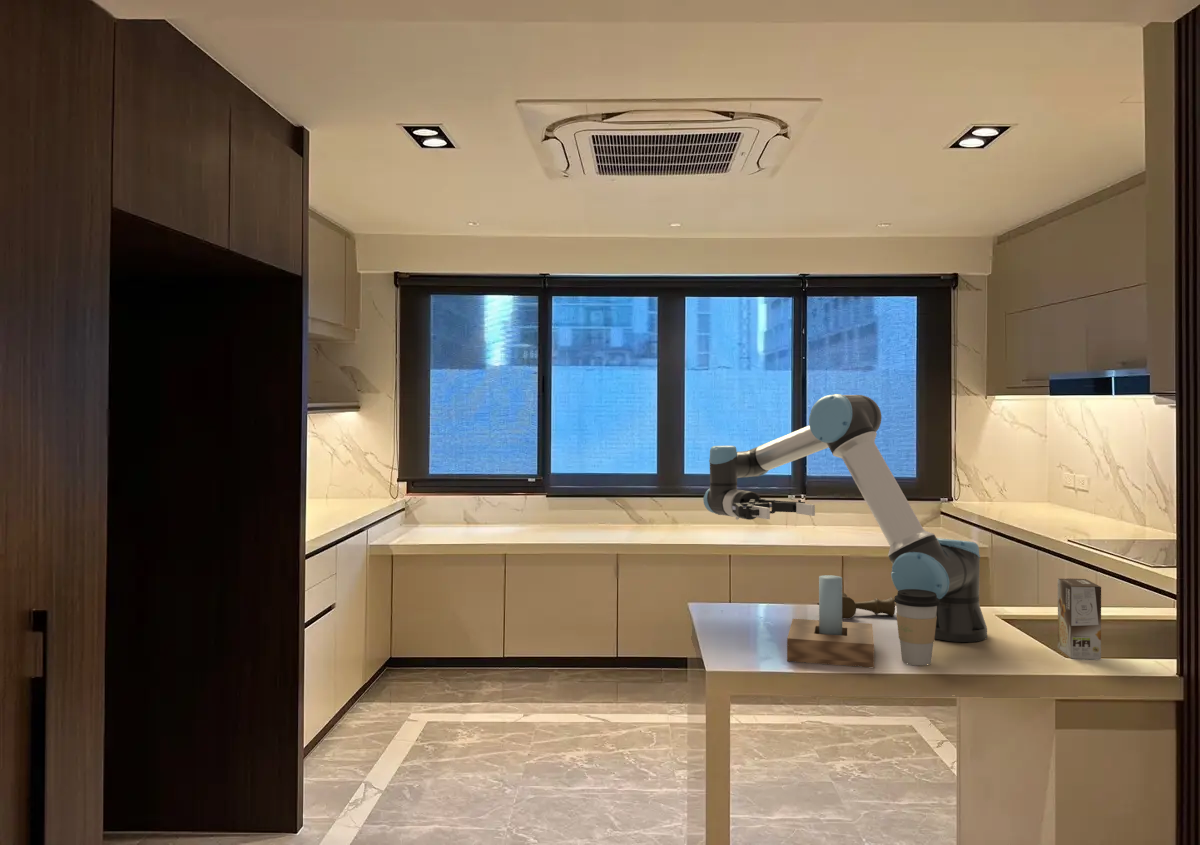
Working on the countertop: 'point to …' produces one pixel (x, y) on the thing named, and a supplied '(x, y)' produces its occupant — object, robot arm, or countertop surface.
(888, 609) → the kendama
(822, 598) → the peg
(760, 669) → the countertop surface
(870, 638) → the socket block
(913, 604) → the coffee cup
